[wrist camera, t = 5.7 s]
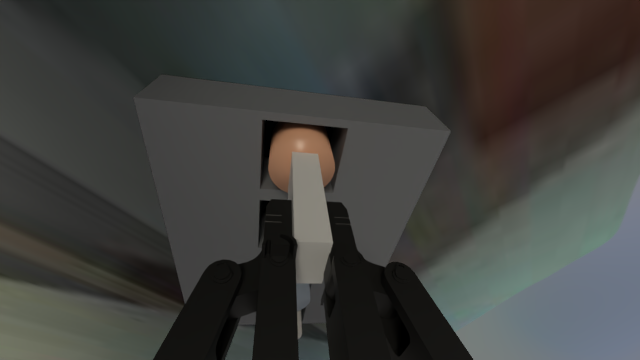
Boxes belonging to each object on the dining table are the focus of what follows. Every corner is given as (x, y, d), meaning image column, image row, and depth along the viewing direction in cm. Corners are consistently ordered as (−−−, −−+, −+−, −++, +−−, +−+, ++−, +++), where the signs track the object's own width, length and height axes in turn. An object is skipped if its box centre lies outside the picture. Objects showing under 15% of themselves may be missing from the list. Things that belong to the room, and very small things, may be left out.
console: (200, 289, 31) (190, 325, 28) (161, 74, 17) (133, 97, 14) (352, 289, 34) (359, 322, 31) (425, 106, 20) (451, 131, 17)
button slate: (263, 276, 26) (260, 313, 23) (264, 248, 24) (261, 286, 21) (305, 276, 27) (307, 313, 24) (310, 249, 24) (313, 286, 21)
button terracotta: (269, 161, 20) (266, 193, 17) (272, 110, 18) (269, 136, 15) (323, 165, 21) (328, 196, 18) (332, 117, 19) (340, 143, 16)
